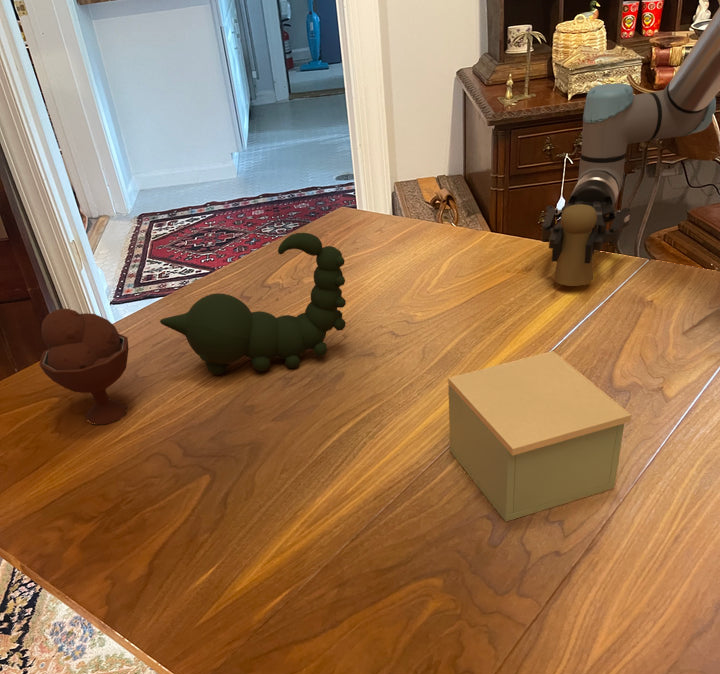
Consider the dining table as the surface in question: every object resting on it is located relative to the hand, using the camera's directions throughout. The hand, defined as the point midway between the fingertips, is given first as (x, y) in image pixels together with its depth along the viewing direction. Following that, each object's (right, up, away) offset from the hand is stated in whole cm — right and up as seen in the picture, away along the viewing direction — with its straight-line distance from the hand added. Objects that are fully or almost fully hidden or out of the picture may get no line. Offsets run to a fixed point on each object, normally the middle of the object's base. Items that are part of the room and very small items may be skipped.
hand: (571, 253), depth 107 cm
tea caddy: (-13, -32, -27) cm, 44 cm away
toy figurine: (-44, -17, -2) cm, 48 cm away
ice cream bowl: (-65, -25, -9) cm, 70 cm away
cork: (+3, -2, +8) cm, 8 cm away
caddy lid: (-13, -25, -33) cm, 43 cm away
